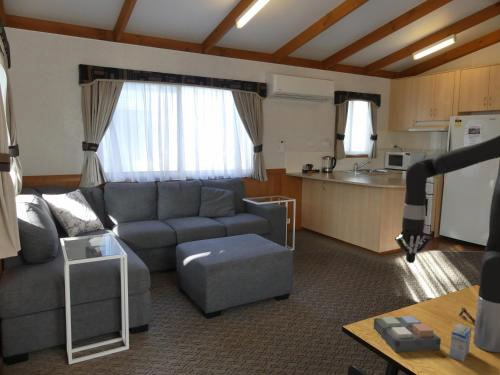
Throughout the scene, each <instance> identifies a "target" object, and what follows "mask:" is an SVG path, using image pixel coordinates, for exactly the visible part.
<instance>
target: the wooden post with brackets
mask: <svg viewBox="0 0 500 375" xmlns="http://www.w3.org/2000/svg"><path fill="white" fill-rule="evenodd" d="M460 310H461V311H460V312H459V314H458V316H459V317H462V319H463V320H464V321H468V319H470V321H471V322H472V323H473V326H475V321H476V318H474V317H473V316H472V315H471V313H470V312H468V311H467V309H466V307H462V306H461V307H460ZM463 314H465V315H466V316H465V315H463ZM467 318H468V319H467Z"/></svg>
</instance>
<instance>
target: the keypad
mask: <svg viewBox="0 0 500 375" xmlns="http://www.w3.org/2000/svg"><path fill="white" fill-rule="evenodd" d="M395 318H396V319H397V320H398V321H399V322H400V327H405V328H406V329H407V330H408V331H410V332H411V333H412V338H401V339H398V338H397V337H396V336H395V335H394V334H393V333H392V332H391V329H392V327H388V328H387V327H386V326H385V325H384V324H383V323H382V322H381V318H379V317H377V318H373V330H374V329H375V330H376V331H377V332H378V333H379V334H380V335H381V336H380V335H379V334H378V333H377V332H376V331H375V330H374V331H375V332H376V333H377V334H378V335H379V336H380V337H381V339H384V340H385V341H386V342H387V343H386V342H385V341H384V340H383V341H384V342H385V343H386V344H387V346H389V347H390V349H391V350H392V351H393V350H394V351H393V352H395V353H406V352H407V353H411V352H424V351H425V352H426V351H427V352H429V351H440V349H441V342H442V340H441V337H439V335H437V334H436V333H434V332H433V337H420V338H419V337H418V336H417V335H416V334H415V333H414V332H413V331H412V326H410V327H407V326H406V325H405V324H404V323H403V322H401V321H400V320H401V316H400V317H395ZM415 318H416V319H417V320H418V321H419V322H420V324H423V322H421V321H420V320H419V319H418V318H417V317H415Z"/></svg>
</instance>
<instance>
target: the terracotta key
mask: <svg viewBox="0 0 500 375" xmlns="http://www.w3.org/2000/svg"><path fill="white" fill-rule="evenodd" d="M412 331H413V332H414V333H415V334H416V335H417V336H418V337H419V338H420V337H433V333H434V330H433V329H432V328H431V327H430V326H429V325H428V324H426V323H422V324H412Z"/></svg>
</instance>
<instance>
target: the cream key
mask: <svg viewBox="0 0 500 375" xmlns="http://www.w3.org/2000/svg"><path fill="white" fill-rule="evenodd" d="M391 332H392V333H393V334H394V335H395V336H396V337H397V338H398V339H401V338H412V333H411V332H410V331H408V330H407V329H406V328H405V327H392V329H391Z"/></svg>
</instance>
